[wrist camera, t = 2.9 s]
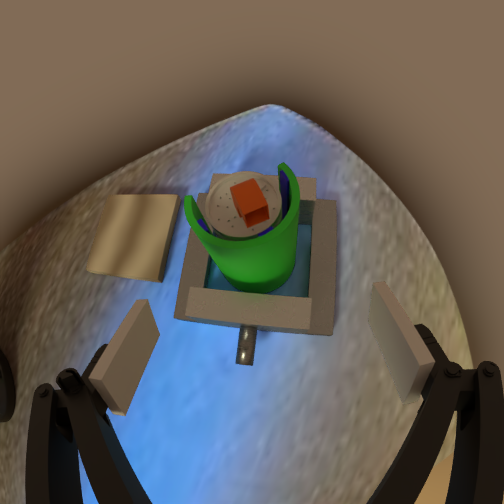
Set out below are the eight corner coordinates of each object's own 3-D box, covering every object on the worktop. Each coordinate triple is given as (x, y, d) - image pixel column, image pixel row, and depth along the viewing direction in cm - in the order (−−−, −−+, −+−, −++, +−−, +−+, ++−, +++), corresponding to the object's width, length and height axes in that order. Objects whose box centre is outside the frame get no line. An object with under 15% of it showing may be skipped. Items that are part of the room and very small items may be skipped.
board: (91, 272, 37) (85, 269, 35) (113, 199, 41) (108, 195, 39) (162, 282, 35) (157, 279, 34) (181, 200, 39) (177, 194, 38)
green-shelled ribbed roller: (272, 217, 37) (262, 110, 20) (310, 266, 34) (333, 178, 17) (211, 255, 36) (155, 169, 19) (246, 309, 33) (207, 256, 16)
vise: (173, 351, 32) (151, 349, 26) (201, 198, 39) (189, 173, 33) (327, 370, 29) (337, 373, 24) (334, 206, 36) (342, 180, 31)
